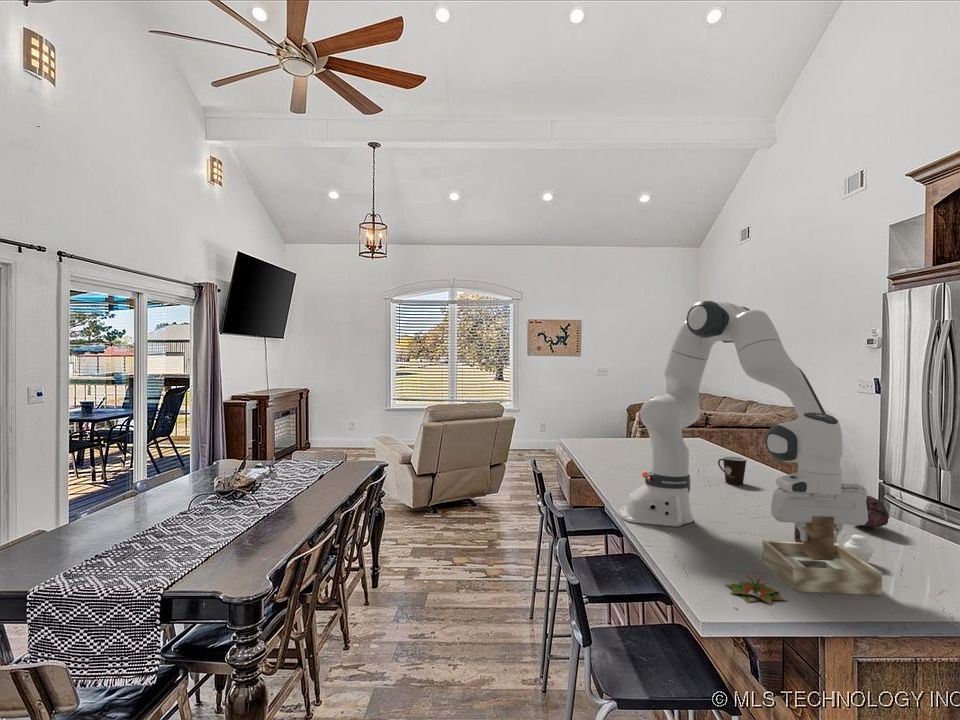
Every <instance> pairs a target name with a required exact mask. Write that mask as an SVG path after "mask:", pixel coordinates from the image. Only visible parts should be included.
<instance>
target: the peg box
mask: <svg viewBox="0 0 960 720" xmlns="http://www.w3.org/2000/svg"><path fill="white" fill-rule="evenodd" d="M761 543H762V544H761V548H762V549H761V561H762V562H763V563H764V564H765V565H766V566H767V567H769V569H771V570H772V572H773V573H775V574H776V575H777V576H778V577H779V578H780V579H781V580H782V581H784V583H785V584H787V585H788V586H789V587H790V588H791V589H792V590H793V591H794V592H805V593H807V592H809V593H811V592H812V593H828V594H829V593H830V594H846V595H847V594H848V595H866V596H867V595H868V596H869V595H870V596H883V572H882V571H880V570H879V569H878V568H876V567H874V566H872V565H871V564H869V563H868V562H865V561H864V560H862V559H860V558H859V557H857V556H856V555H854V554H853V553H851V552H850V551H848V550H846V549H845V548H844V546H842V545H840V544H839V543H834V560H833V561H828V560H812V559H811V558H810V557H808V556H807V555H806V554H804V542H797V541H779V540H776V541H775V540H762V541H761Z"/></svg>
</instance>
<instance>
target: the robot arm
mask: <svg viewBox="0 0 960 720" xmlns="http://www.w3.org/2000/svg"><path fill="white" fill-rule="evenodd" d="M717 342H722V343H733V344H734V347H735V350H736V354H737V356H738V357H737V358H738V360H739V363H740V367H741V368H742V370H743V371H744V373H745V374H746V375H747V376H748V377H749V378H751V379H752V380H755V381H757V382H759V383H762V384H765V385H768V386H771V387H772V388H776V389H777V390H779V391H781V392H782V393H784V394H785V395H786V396H787V397H788V399H789V400H790V402H791V403H792V406H793V408H794V409H795V412H796V414H797V415H798V418H796V419H794V420H791V421H787V422H783V423H777V424H773V425H772V426H771V427H770V428H769V429H768V430H767V432H766V434H765V442H764V443H765V448H766V451H767V453H768V454H769V455H770V456H771V457H772V459H774V460H776V461H778V462H779V461H780V462H784V463H789V462H790V463H797V465H798V466H797V467H798V468H797V471H796V472H793V473H789V474H786V475H782V476H779V477H777V478H776V479H775V485H776V487H778V488H776V489H775V490H774V492H773V494H772V500H771V509H770V511H771V512H770V513H771V516H772V517H773V518H774V519H775V520H776V521H777V522H780V523H793V524H794V526H795V525H796V527H797V528H798V530H799V532H800V539H801V540H802V541H804V542H810V534H808V533H807V532H805V530H804V529H803V527H806V523H812V521H813V516H818V517H834V544H838V537H839V535H840V534H841V532H842V531H843V529H844V528H843V526H844V525H849V526H851V525H853V526H859V525H865V524H866V523H867V521H868V511H867V504H866V499H867V496H868V492H867V490H866V488H865V487H864V486H862V485H861V484H859V483H843V470H842V467H841V459H842V457H843V433H842V428H841V427H842V426H841V423H840V422H839V420H838V419H837V418H836V417H835V416H833V415H829V414H827V413H826V411H825V410H824V408H823V405H822V403H821V402H820V399H819V397H818V396H817V394H816V392H815V390H814V388H813V387H812V385H811V383H810V381H809V379H808V377H807V376H806V374H805V373H804V371H803V370H802V369H801V368H800V367H799V366H797V364H796V363H794V361H793V360H792V359H791V357H790V356H789V355H788V353H787V351H786V349H785V348H784V345H783V343H782V340H781V338H780V334H779V333H778V330H777V328H776V327H775V325H774V324H773V321H772V320H771V318H770V316H769V314H767V313H766V312H765V311H763V310H760V309H750V308H748V307H746V306H742V305H741V306H740V305H737V304H733V303H730V302H719V301H716V302H715V301H713V300H702V301H698V302H696V303H694V304H693V305H692V306H690V308H689V310H688V312H687V314H686V320H684V322H682V324H681V326H680V328H679V329H678V331H677V333H676V336H675V338H674V340H673V343H672V345H671V349H670V351H669V355H668V359H667V362H666V365H665V367H664V368H665V369H664V372H663V373H664V377H665V380H666V383H665V384H666V385H665V387H666V388H665V393H664V394H663V395H659V396H658V395H657V396H654V397H652V398H650V399H648V400H646V401H645V402H644V403H642V406H641V407H640V411H639V417H640V421H641V423H642V424H643V425H644V427H645V428H646V429H647V432H648V436H649V440H650V445H651V471H649V472H648V471H647V470H644V471H642V472H641V476H642V478H644V482H645V483H644V484H642V485H640V486H639V487H638V488H636V489H634V490H633V491H631V492H630V494H628V497H627V500H626V506H623V507H620V509H619V511H618V515H619V516H620V518H621V519H622V520H624V521H626V522H629V523H634V524H647V525H654V526H657V525H658V526H667V527H675V528H676V527H677V528H678V527H682V526H683V525H686V524H690V523H692V522H694V516H693V511H692V508H691V507H692V506H691V499H690V492H691V475H690V474H689V473H690V472H689V469H690V468H689V467H690V466H689V465H690V462H689V461H690V451H689V448H688V446H687V445H686V443H685V440H684V436H683V430H682V429H684V428H688V427H690V426H691V425H693V424H694V423H696V421H698V420H699V417H700V416H701V407H700V402H699V400H700V399H699V398H700V388H701V384H702V379H703V376H704V373H705V370H706V366H707V363H708V359H709V357H710V353H711V351H712V350H711V349H712V347H713V346H714V344H716V343H717Z"/></svg>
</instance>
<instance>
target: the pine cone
mask: <svg viewBox="0 0 960 720" xmlns="http://www.w3.org/2000/svg"><path fill="white" fill-rule="evenodd" d="M866 504H867V511H868V521H867V523H866V524H865V525H858V526H859V527H861V526H862V527H865V528H869V527H870V528H872V529H874V528H879V527H883V526H886V525H888V523H889V519H890V515H889V513H888V512H887V509H886V507H885V506H884V504H883V503H882V502H880V500H879V499H878V498H875V497H874V496H871V495H867V499H866Z"/></svg>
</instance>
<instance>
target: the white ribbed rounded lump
mask: <svg viewBox="0 0 960 720" xmlns="http://www.w3.org/2000/svg"><path fill="white" fill-rule="evenodd" d="M843 548H845V549H846V550H848V551H850V552H851V553H853V554H854V555H856V556H857V557H859V558H860V559H862V560H864V561H865V562H867V563H868V562H869V560H870V559H871V558H872V556H873V554H874V551H875V550H874V548H873V547H872V545H870V543H869V542H868V538H867V537H865V536H864V535H861V534H852V535H851V536H850V538H849V540H848V541H847V542H845V543H844V545H843Z"/></svg>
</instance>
